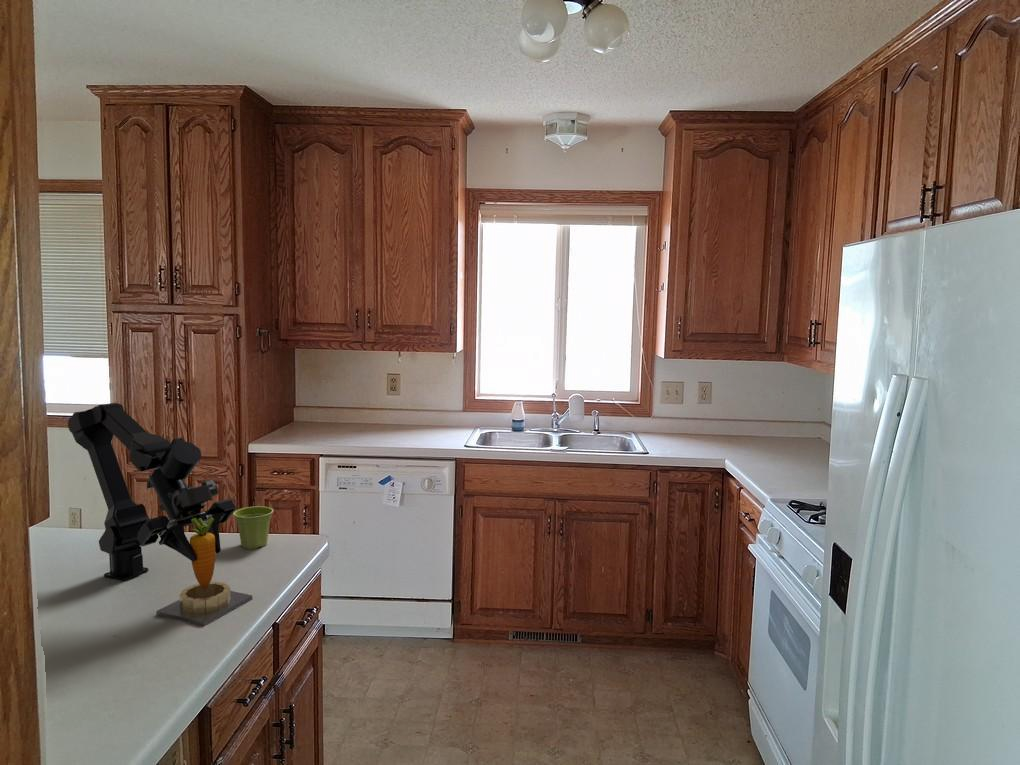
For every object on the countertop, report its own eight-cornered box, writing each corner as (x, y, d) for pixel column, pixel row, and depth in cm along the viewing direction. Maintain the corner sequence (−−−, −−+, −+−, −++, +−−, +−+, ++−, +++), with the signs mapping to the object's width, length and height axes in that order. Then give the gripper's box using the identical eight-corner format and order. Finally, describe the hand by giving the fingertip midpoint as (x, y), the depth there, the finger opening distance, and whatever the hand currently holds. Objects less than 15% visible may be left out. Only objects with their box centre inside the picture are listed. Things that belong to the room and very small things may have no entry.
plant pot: (241, 538, 179) (240, 506, 178) (278, 538, 180) (277, 505, 179) (229, 551, 170) (228, 517, 169) (268, 551, 170) (267, 517, 169)
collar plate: (156, 614, 135) (155, 598, 135) (207, 589, 147) (206, 574, 147) (203, 626, 131) (203, 609, 131) (252, 599, 143) (251, 583, 143)
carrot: (222, 583, 142) (218, 512, 140) (212, 594, 137) (209, 520, 135) (197, 583, 141) (193, 512, 139) (187, 594, 137) (183, 521, 134)
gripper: (142, 479, 130) (178, 548, 126) (230, 461, 146) (264, 522, 141) (122, 512, 136) (155, 579, 131) (208, 491, 151) (241, 550, 147)
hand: (207, 556), depth 137 cm, fingers closed on carrot, 5 cm apart
